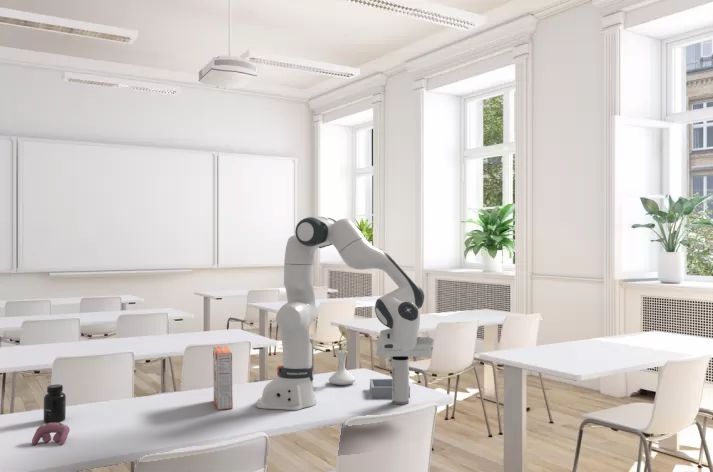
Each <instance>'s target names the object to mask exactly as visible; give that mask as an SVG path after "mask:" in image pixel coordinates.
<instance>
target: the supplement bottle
mask: <svg viewBox="0 0 713 472" xmlns="http://www.w3.org/2000/svg"><path fill="white" fill-rule="evenodd" d="M46 387H47V388H46V394H44V397H43V422H44V424H47V423H62V422H63V421H65V420H66V411H67V409H66V405H67V404H66V403H67V402H66V400H67V397H66V396H67V395H66V393H65V392H63V391H64V387H63V384H49V385H47V386H46Z"/></svg>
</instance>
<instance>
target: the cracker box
mask: <svg viewBox="0 0 713 472" xmlns="http://www.w3.org/2000/svg"><path fill="white" fill-rule="evenodd" d="M232 352H233V351H231V349H230V348H229V347H228V346H227V345H224V346H213V348H212V359H213V361H212V363H213V369H212V370H213V371H212V372H213V402H214V404H215V406H216V407H215V408H216V409H217V411H220V410H221V411H225V410H231V409H234V408H233V407H234V406H233V405H234V404H233V353H232Z"/></svg>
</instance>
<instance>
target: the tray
mask: <svg viewBox="0 0 713 472" xmlns="http://www.w3.org/2000/svg"><path fill="white" fill-rule="evenodd" d="M369 392H370V396H371V398H372V399H381V398H382V399H385V398H386V399H392V378H370V379H369ZM409 398H411V386H410V385H409Z"/></svg>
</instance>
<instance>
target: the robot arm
mask: <svg viewBox="0 0 713 472" xmlns="http://www.w3.org/2000/svg"><path fill="white" fill-rule="evenodd" d="M294 233H295V234H294V235H291V236H290V237H288V239H287V242H286V245H285V251H284V259H283V260H284V261H283V263H284V264H283V265H284V266H283V286H284V288H285V292H286V297H287V302H286V303H284V304H283V305H282V306H281V307H279V310H278V311H277V313H276V315H275V316H276V317H275V319H276V325H277V326H278V327H279V333H280V338H281V343H282V365H281V364H279V365H278V366H277V367H276V371H277V376H275V378H273V379H272V380H271V381H270V382H268V383H267V384H266V385H265V387H264V388H263V390H262V394H261V397H259V398H258V399H257V400H256V403H255V406H256V408H258V409H266V410H267V409H269V410H288V411H289V410H290V411H291V410H292V411H298V410H301V409H304V408H309V407H313V406H315V405H316V404H317V399H316V396H315V389H314V384H313V380H314V375H315V374H314V373H315V371H314V365H313V343H312V342H311V339H310V338H311V337H310V333H309V326H310V325H311V324H312V323H314V321H315V319H316V317H317V314H318V310H317V309H318V308H317V306H316V296H315V292H314V257H315V251H316V250H317V249H323V248H326V247H330V246H334V248H335V249H336V251H337V253H338V254H339V256H340V257H341V259H342V261H343V262H344V263H345V264H346V265H347V266H348V267H349V268H351V269H355V270H369V269H371V270H374V269H377V270H381V271H382V272H383V271H384V272H385V273H386V274H387V276H388V277H390V279H391V280H392V281H393V282H394V283H395V284H396V286H397V288H395V289H394V290H392V291H390V292H388V293H386V294H384V295H382V296H381V297H379V298H378V299H376V301H375V303H374V305H375V306H374V312H375V316H376V318H377V319H378V321H379V322H380V323H381V324H383V326H385V327H386V329H382V330H380V331H379V336H378V337H377V340H376V342H375V350H374V351H375V355H376V356H377V357H384V358H386V359H387V362H392V357H393V356H408V357H412V361H413V362H418V359H421V357H429V356H432V346H433V345H434V341H435V340H434V339H433V338H431V337H430V336H419V329H420V324H421V323H420V322H421V317H420V314H421V313H420V310H419V309H421V308H422V307H423V305H424V302H425V293H424V291H423V289H422V287H420V286H419V285H418V284H417V283H416V282H415V281H414V280H412V279H411V277H409V276H408V275H407V274H406V272H405V271H404V270H403V269H402V268H401V267H400V266H399V265H398V264H397V263H396V261H395V259H393V258H392V257H391V256H390V254H388V253H387V252H386V251H385V249H384V250H383V249H382V248H378V247H375V246H373V244H371V243H370V242H369V241H368V240H367V239H366V237H365V236H364V234H363V233H362V232H361V230H360V229H359V228H358V226H357V225H355V223H354V222H353V221H351V220H350V219H349V218H340V219H338V220H335V219H334V218H331V217H325V216H324V217H323V216H314V217H312V216H308V217H306V218H302V219H300V220H299V221H298V223H297V224H296V226H295V230H294Z"/></svg>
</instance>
